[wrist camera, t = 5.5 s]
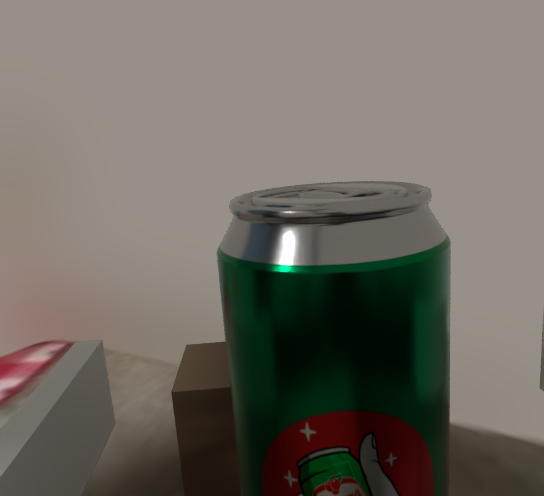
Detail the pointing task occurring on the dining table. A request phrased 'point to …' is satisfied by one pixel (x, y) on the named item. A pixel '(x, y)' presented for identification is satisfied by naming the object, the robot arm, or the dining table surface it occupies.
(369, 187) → the soda can
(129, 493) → the dining table surface
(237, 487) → the walnut block
